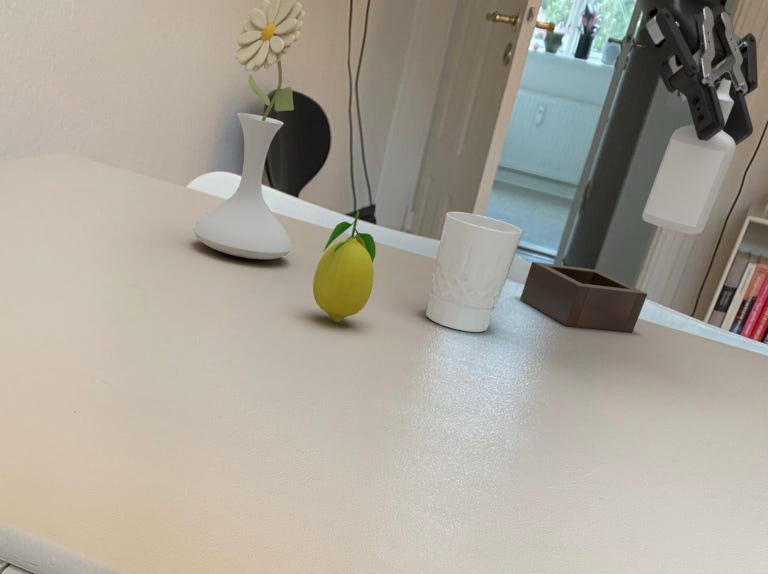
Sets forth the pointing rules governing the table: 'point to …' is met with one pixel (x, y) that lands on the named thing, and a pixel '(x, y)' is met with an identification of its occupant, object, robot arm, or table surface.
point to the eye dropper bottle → (691, 175)
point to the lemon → (345, 273)
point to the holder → (582, 297)
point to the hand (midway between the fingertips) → (726, 136)
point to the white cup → (471, 270)
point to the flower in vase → (256, 142)
